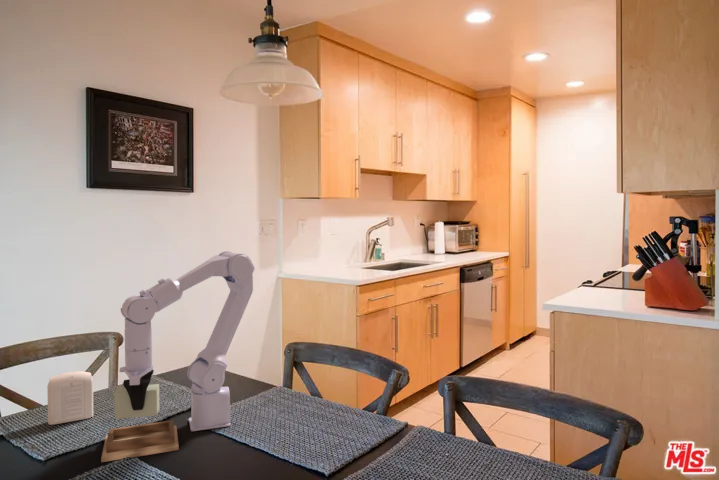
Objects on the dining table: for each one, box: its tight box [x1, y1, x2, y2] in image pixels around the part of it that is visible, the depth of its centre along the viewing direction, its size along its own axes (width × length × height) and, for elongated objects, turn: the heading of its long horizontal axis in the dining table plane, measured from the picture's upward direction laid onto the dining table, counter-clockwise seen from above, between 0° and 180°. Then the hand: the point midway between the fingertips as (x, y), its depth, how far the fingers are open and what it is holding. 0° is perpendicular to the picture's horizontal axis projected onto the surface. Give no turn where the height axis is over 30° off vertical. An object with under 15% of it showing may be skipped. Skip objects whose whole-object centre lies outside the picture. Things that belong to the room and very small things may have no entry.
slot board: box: [100, 419, 180, 463], centre depth 118 cm, size 16×12×3 cm
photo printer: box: [47, 370, 94, 426], centre depth 131 cm, size 10×4×12 cm, turn 123°
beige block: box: [113, 383, 161, 420], centre depth 119 cm, size 4×9×6 cm, turn 103°
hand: (139, 405), depth 119 cm, fingers closed on beige block, 4 cm apart
